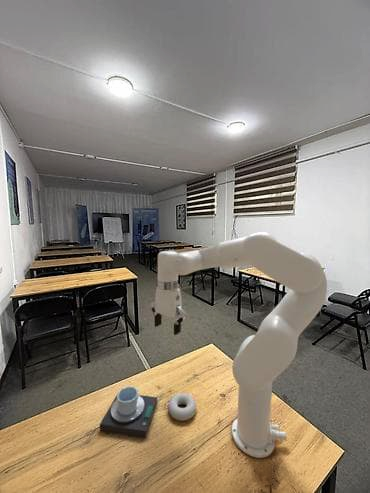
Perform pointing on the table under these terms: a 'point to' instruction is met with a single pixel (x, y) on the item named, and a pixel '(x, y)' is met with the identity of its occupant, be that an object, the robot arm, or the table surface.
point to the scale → (135, 427)
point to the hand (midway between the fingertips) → (167, 329)
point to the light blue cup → (127, 400)
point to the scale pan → (130, 417)
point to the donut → (182, 412)
